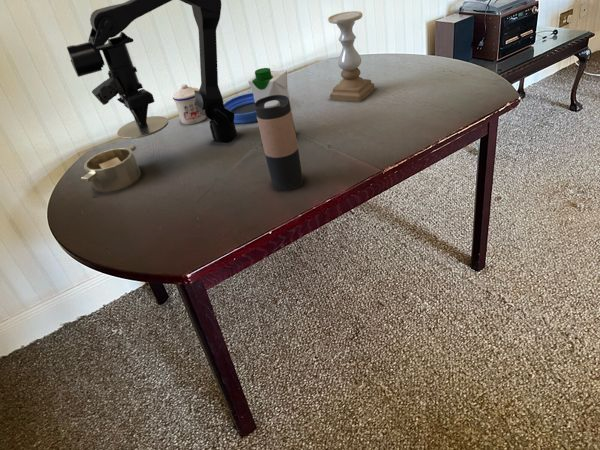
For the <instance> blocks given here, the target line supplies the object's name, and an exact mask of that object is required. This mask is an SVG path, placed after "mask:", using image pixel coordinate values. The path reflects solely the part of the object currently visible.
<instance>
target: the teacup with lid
mask: <svg viewBox="0 0 600 450" xmlns="http://www.w3.org/2000/svg"><path fill="white" fill-rule="evenodd" d="M199 89H200V88H198V87H192V86H188V84H186V83H184V84H181V86H180V89H178V91H176V92H174V94H173V95H172V100H174V101H173V102H174V104H175V107H176V110H177V112H178V113H177V114H178V116H179V120H180V122H181V124H183V125H194V124H198V123H201V122H202V121H204V120H205V119H206V118H207V117H206V116H204V115H203V114H202V113H201V112H199V110H198V108H197V106H196V105H195V94H194V91H195V90H196V91H199Z"/></svg>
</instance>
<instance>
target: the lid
mask: <svg viewBox="0 0 600 450" xmlns="http://www.w3.org/2000/svg"><path fill="white" fill-rule="evenodd" d="M131 111H132V110H131ZM131 111H130V112H131ZM132 113H133V115H132V116H133V118H134V120H132V121H129V122H128V123H126V124H124V125H122V126H120V127H119V128H118V130H117V132H116V134H117V136H118V138H120V139H124V140H134V139H140V138H141V139H142V138H146V137H148V136H152V135H154V134H156V133H159V132H161V131H162V130H164V129H165V128H166V127H167V126H168V125H169V119H168V118H167V117H165V116H162V115H153V116H147V120H146V126H144V127H142V126H141V125H140V123H139V121H138V119H137V118H136V116H135V114H134V112H133V111H132ZM132 113H131V114H132Z"/></svg>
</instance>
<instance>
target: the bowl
mask: <svg viewBox="0 0 600 450" xmlns="http://www.w3.org/2000/svg"><path fill="white" fill-rule="evenodd" d="M224 107H225V108H227V109H228V110H230V111H231V112H233V113H234V124H247V123H249V124H250V123H253V122H254V123H255V122H258V120H257V115H256V111H255V100H254V95H253V92H249V93H245V94H241V95H238V96H235V97H232V98H231V99H229V100H227V101H226V102H225V103H224Z"/></svg>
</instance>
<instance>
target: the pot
mask: <svg viewBox="0 0 600 450" xmlns="http://www.w3.org/2000/svg"><path fill="white" fill-rule="evenodd" d="M136 150H137V147H136V145H130V144H129V145H127V146H126V147H115V148H111V149H106V150H104V151H101V152H98V153H96V154H94V155H93V156H91V157H90V158H88V159H87V160H86V161H85V163H84V164H83V165H84V166H83V168H84V170H85V172H86V174H85V175H83V176H81V180H82V182H86V183H87V182H89V183H91V185H92V188H93V190H95V191H96V192H98V193H110V192H116V191H120V190H123V189H124V188H127V187H129V186H131V185H132V184H134V183H135V182H136V181H138V180H139V179H140V177H141V176H142V173H141V169H140V166H139V165H138V162H137V159H136V157H135V155H134V151H136ZM114 158H118V159H119V160H120V161H121V162H120V163H118V164H116V165H114V166H110V167H107V168H103V169H101V168H100V165H99V164H101V163H104V162H106V161H109V160H112V159H114Z"/></svg>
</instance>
